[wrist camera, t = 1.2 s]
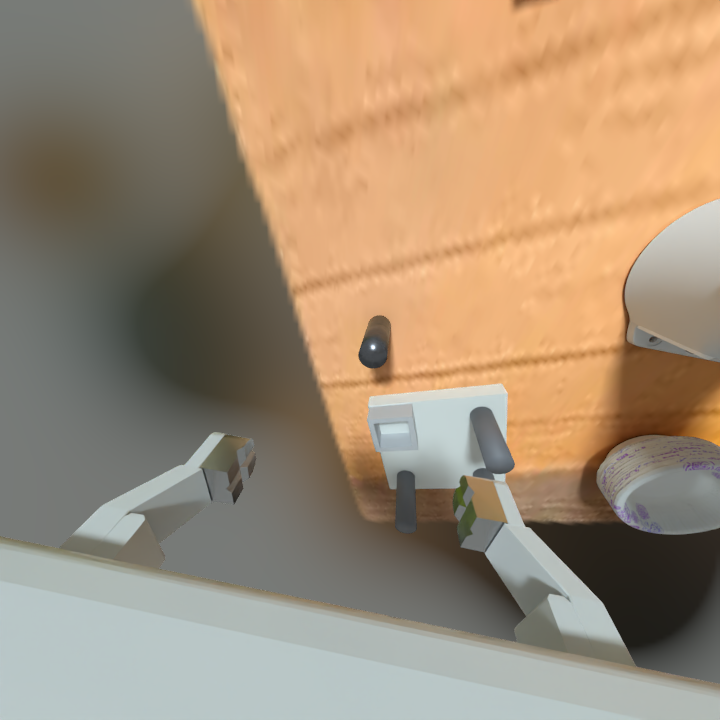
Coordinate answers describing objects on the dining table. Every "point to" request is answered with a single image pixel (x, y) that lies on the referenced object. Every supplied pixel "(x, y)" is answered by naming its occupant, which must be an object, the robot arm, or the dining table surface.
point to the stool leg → (375, 342)
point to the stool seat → (439, 440)
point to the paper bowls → (664, 483)
